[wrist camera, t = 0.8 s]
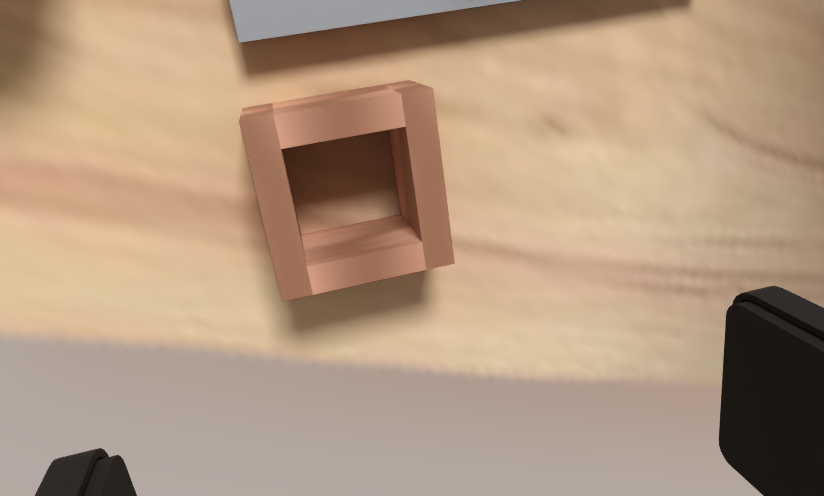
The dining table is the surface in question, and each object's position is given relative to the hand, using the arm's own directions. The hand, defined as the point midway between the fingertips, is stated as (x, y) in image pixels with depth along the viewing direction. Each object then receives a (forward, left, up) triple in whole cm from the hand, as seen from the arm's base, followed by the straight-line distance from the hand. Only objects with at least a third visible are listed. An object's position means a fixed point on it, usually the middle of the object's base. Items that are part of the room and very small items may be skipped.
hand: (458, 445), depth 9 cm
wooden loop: (-1, 0, -19) cm, 19 cm away
